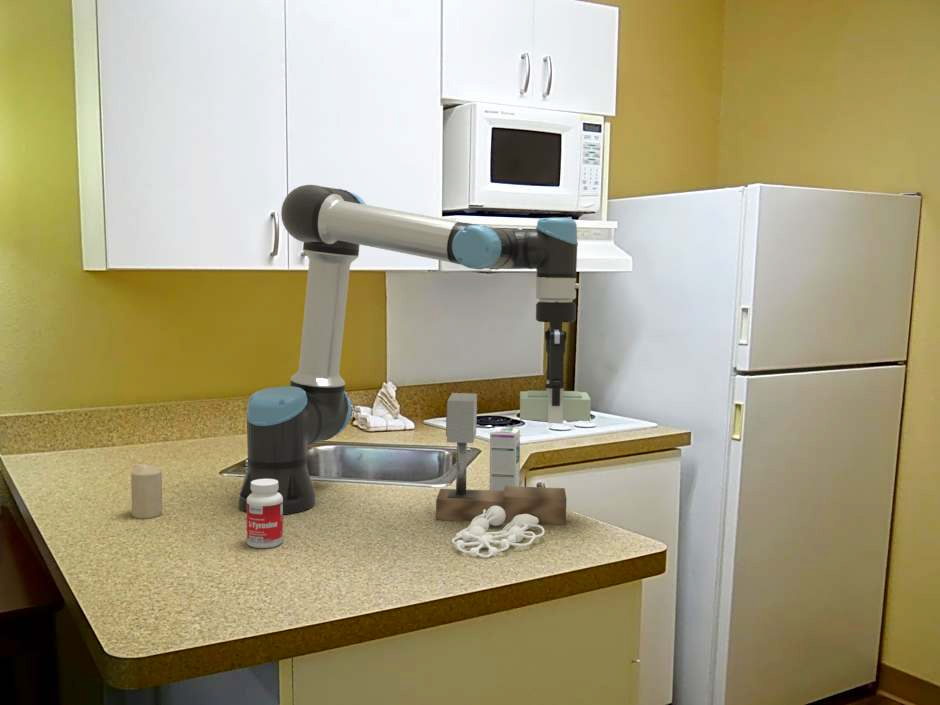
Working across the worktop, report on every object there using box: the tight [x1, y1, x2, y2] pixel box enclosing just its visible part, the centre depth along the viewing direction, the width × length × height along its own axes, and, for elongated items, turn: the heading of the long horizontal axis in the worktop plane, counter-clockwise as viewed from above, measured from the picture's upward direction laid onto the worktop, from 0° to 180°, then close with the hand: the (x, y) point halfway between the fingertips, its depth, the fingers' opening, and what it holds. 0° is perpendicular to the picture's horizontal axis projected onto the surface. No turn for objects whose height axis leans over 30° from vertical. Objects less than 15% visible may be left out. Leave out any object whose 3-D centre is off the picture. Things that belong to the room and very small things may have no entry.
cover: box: [519, 390, 592, 422], centre depth 161 cm, size 13×9×4 cm
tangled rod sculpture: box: [451, 506, 545, 559], centre depth 150 cm, size 19×14×4 cm
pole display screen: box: [445, 392, 478, 495], centre depth 165 cm, size 10×5×19 cm, turn 176°
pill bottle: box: [246, 479, 284, 549], centre depth 147 cm, size 6×6×11 cm
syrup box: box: [489, 426, 521, 491], centre depth 180 cm, size 6×6×14 cm
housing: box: [435, 486, 567, 525], centre depth 166 cm, size 25×8×5 cm, turn 86°
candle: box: [130, 462, 163, 520], centre depth 162 cm, size 6×6×10 cm
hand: (554, 418), depth 161 cm, fingers closed on cover, 9 cm apart
